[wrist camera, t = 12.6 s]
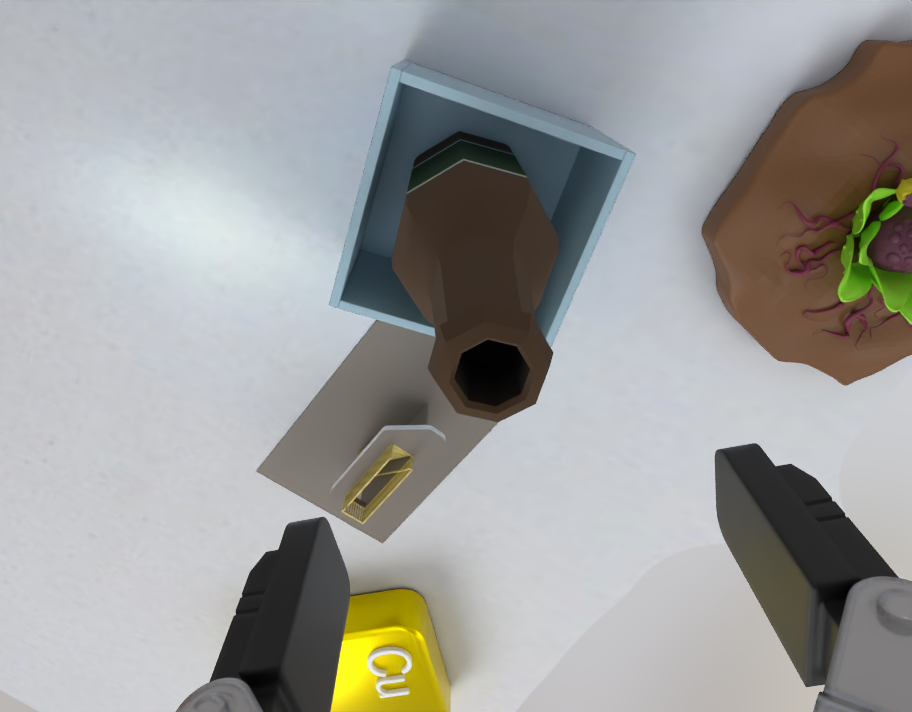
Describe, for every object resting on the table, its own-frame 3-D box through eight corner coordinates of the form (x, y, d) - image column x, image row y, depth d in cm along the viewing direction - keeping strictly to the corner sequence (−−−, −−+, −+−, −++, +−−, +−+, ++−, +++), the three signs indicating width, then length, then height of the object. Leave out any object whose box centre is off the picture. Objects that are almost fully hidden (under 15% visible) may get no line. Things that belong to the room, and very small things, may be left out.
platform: (256, 471, 50) (231, 529, 44) (392, 300, 44) (384, 341, 38) (382, 543, 53) (374, 606, 47) (525, 394, 47) (536, 445, 41)
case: (352, 250, 42) (328, 305, 34) (403, 59, 37) (391, 66, 29) (523, 303, 44) (542, 368, 35) (594, 127, 39) (636, 153, 30)
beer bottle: (379, 205, 40) (305, 399, 19) (455, 99, 38) (469, 184, 16) (476, 276, 42) (510, 523, 21) (555, 181, 40) (684, 353, 18)
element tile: (253, 608, 56) (238, 655, 52) (421, 583, 55) (419, 628, 51) (303, 717, 63) (293, 766, 59) (454, 696, 62) (454, 745, 58)
